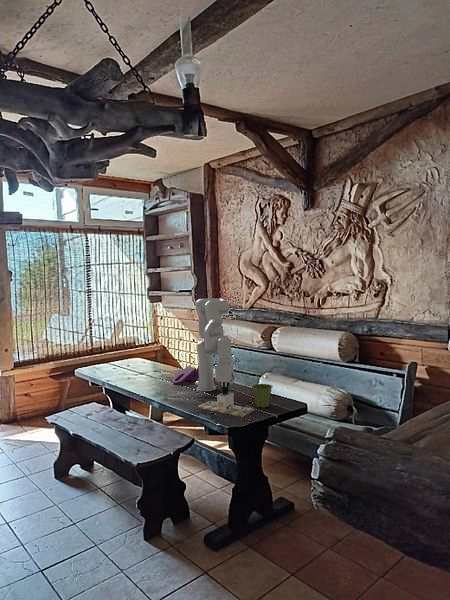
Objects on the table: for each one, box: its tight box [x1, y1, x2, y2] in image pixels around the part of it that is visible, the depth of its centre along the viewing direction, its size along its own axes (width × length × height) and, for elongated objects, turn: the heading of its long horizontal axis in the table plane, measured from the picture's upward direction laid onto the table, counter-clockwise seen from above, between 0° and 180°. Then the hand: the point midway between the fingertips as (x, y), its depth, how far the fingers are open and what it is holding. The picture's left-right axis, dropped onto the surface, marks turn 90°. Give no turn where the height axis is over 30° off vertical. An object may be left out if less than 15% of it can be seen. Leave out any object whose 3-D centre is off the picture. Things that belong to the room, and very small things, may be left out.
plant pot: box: [251, 383, 273, 408], centre depth 257 cm, size 12×12×11 cm
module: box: [216, 391, 235, 410], centre depth 252 cm, size 5×9×8 cm, turn 144°
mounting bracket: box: [171, 365, 199, 386], centre depth 315 cm, size 9×8×18 cm
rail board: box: [197, 400, 256, 418], centre depth 252 cm, size 30×12×1 cm, turn 55°
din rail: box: [204, 400, 248, 412], centre depth 252 cm, size 26×4×2 cm, turn 55°
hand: (225, 393), depth 251 cm, fingers closed
